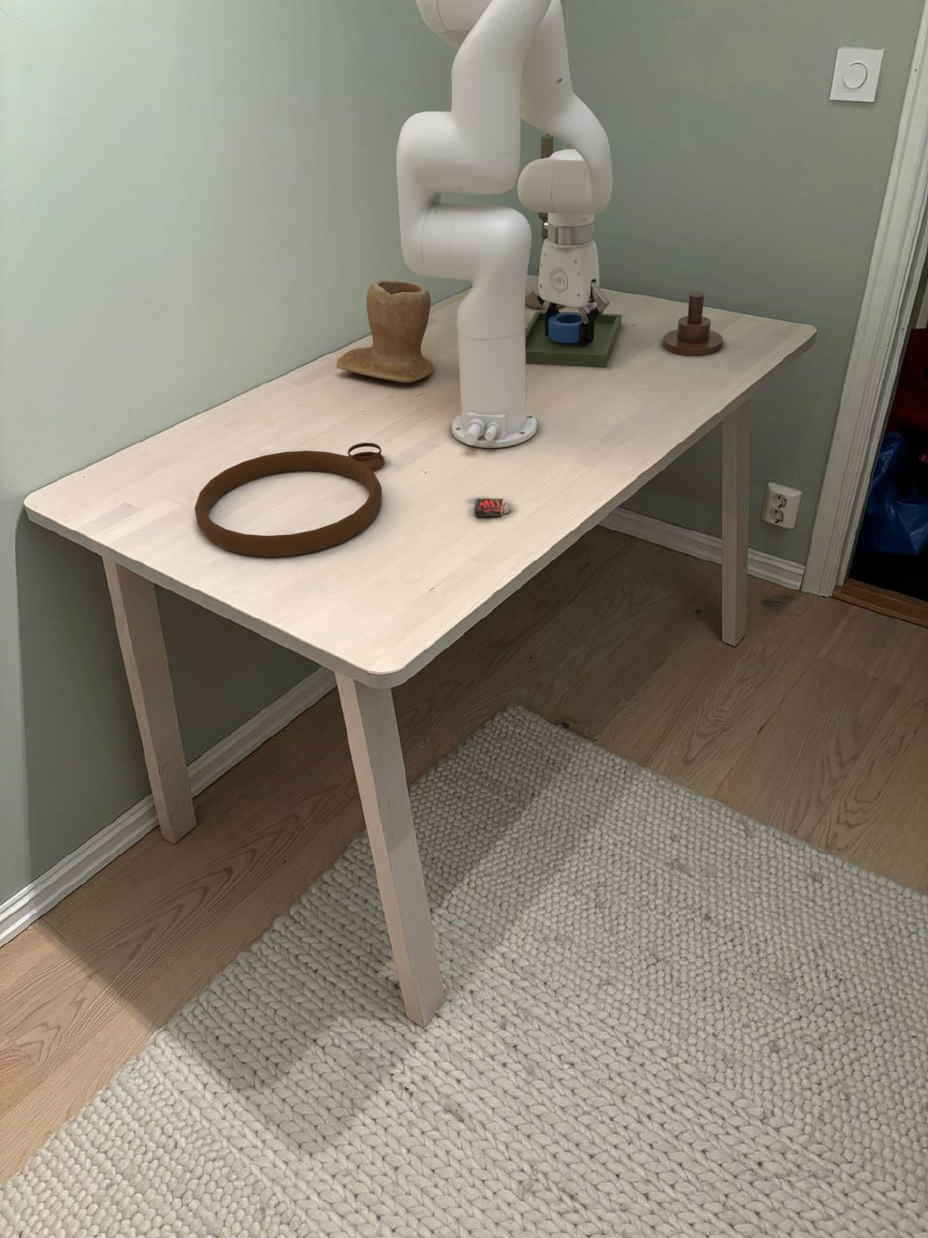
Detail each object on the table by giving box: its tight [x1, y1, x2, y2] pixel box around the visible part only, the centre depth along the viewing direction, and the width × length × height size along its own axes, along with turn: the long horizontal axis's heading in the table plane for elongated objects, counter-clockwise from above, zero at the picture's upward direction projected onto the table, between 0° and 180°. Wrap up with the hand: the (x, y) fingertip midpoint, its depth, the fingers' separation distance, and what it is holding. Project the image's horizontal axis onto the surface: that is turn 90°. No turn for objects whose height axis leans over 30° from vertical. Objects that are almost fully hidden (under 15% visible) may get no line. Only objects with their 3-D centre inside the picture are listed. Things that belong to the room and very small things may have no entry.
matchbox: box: [473, 496, 511, 517], centre depth 130 cm, size 5×5×1 cm
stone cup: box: [335, 279, 435, 384], centre depth 165 cm, size 15×12×15 cm
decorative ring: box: [194, 442, 386, 558], centre depth 133 cm, size 24×3×30 cm
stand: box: [662, 291, 724, 357], centre depth 170 cm, size 10×10×9 cm
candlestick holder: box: [525, 133, 565, 311], centre depth 185 cm, size 9×9×30 cm
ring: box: [548, 311, 583, 343], centre depth 174 cm, size 7×7×3 cm
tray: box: [525, 310, 623, 368], centre depth 175 cm, size 20×16×2 cm
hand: (569, 337), depth 175 cm, fingers closed on ring, 7 cm apart
